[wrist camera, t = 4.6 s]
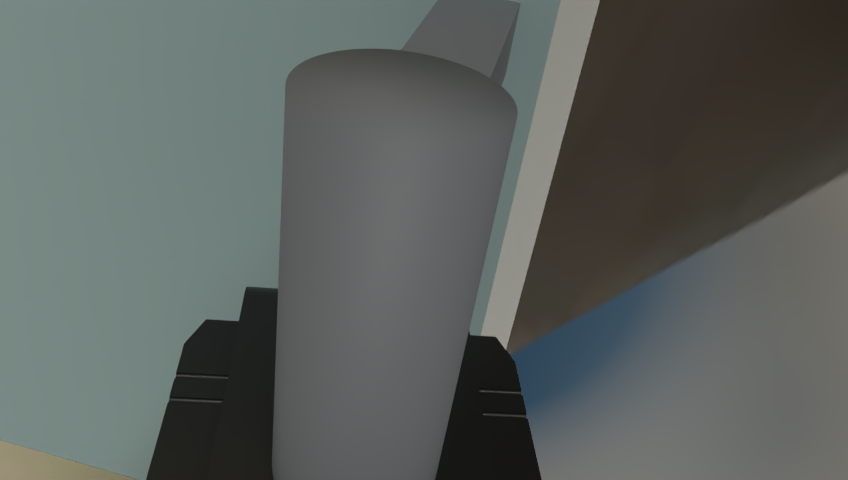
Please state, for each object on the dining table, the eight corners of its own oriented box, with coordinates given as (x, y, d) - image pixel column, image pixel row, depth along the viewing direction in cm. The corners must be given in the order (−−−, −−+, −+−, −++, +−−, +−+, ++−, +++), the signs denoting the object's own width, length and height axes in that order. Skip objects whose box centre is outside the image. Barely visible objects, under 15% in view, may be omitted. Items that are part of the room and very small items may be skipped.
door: (-399, -387, 10) (-1367, -514, 5) (611, -212, 9) (596, -160, 4) (-113, 385, 19) (-385, 619, 14) (432, 539, 17) (352, 863, 12)
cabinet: (-137, -385, 17) (-454, -441, 10) (561, -268, 19) (667, -253, 12) (-5, 217, 26) (-129, 391, 19) (458, 250, 28) (487, 417, 21)
